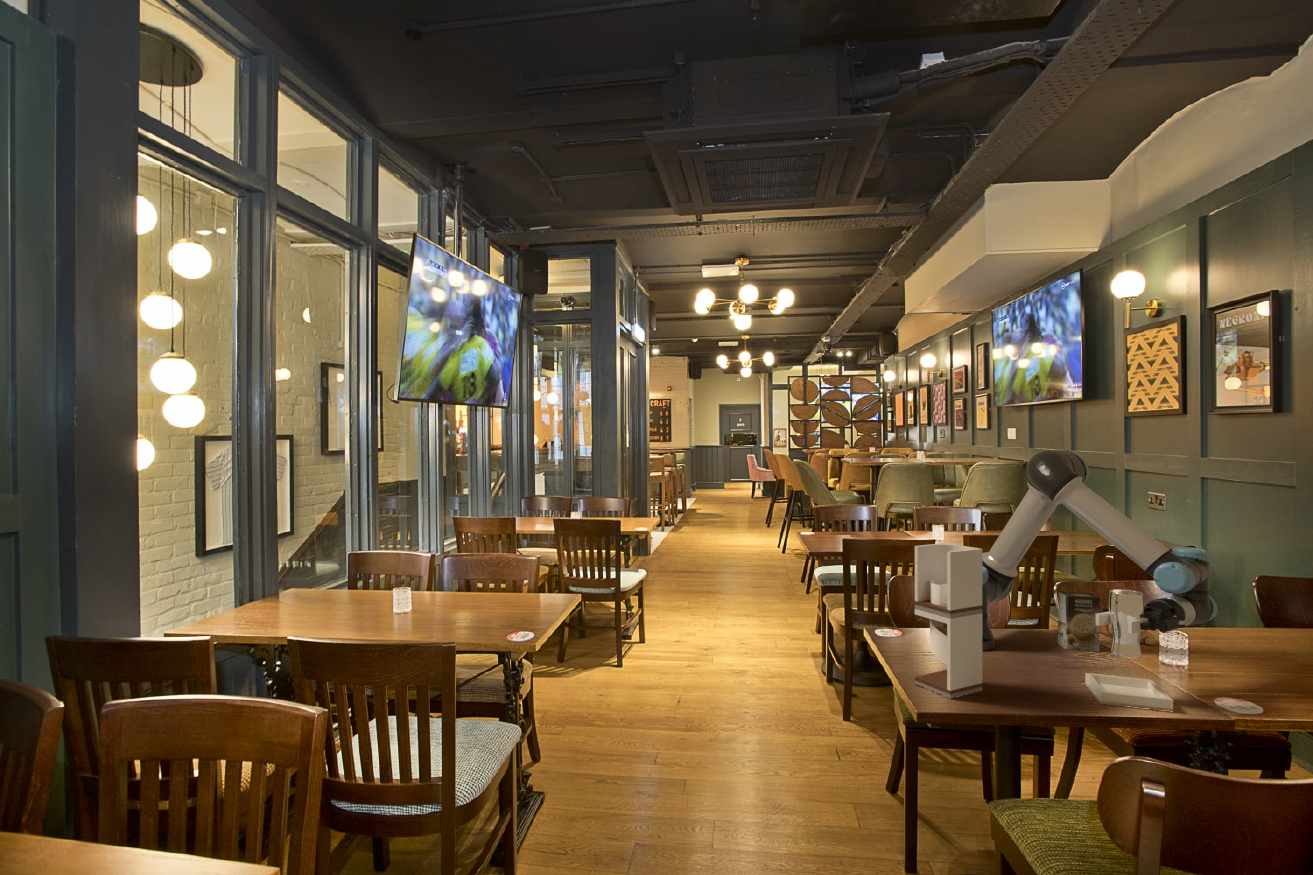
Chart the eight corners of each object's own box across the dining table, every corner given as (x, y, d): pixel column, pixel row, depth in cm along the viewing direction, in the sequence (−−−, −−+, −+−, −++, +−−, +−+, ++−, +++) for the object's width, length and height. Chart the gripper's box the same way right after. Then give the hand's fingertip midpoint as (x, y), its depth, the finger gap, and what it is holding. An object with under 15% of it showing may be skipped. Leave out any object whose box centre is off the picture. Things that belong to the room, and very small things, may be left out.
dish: (1101, 704, 157) (1101, 692, 157) (1085, 683, 170) (1085, 672, 170) (1173, 712, 152) (1173, 700, 152) (1151, 690, 165) (1151, 679, 165)
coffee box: (1066, 650, 198) (1066, 595, 198) (1057, 643, 204) (1057, 590, 204) (1100, 651, 196) (1100, 596, 196) (1090, 645, 202) (1090, 592, 202)
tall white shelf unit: (946, 677, 174) (946, 542, 174) (982, 691, 165) (982, 548, 165) (914, 684, 169) (914, 546, 169) (950, 699, 160) (950, 552, 160)
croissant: (1162, 657, 202) (1171, 633, 203) (1142, 645, 199) (1151, 620, 200) (1096, 636, 222) (1104, 614, 223) (1076, 625, 219) (1085, 602, 220)
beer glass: (1150, 659, 157) (1149, 595, 157) (1116, 658, 158) (1116, 594, 158) (1135, 650, 164) (1135, 589, 164) (1103, 649, 165) (1103, 588, 165)
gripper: (1215, 638, 160) (1159, 650, 150) (1127, 618, 178) (1072, 629, 168) (1214, 606, 160) (1158, 617, 150) (1127, 590, 178) (1072, 599, 168)
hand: (1113, 623), depth 159 cm, fingers closed on beer glass, 7 cm apart
